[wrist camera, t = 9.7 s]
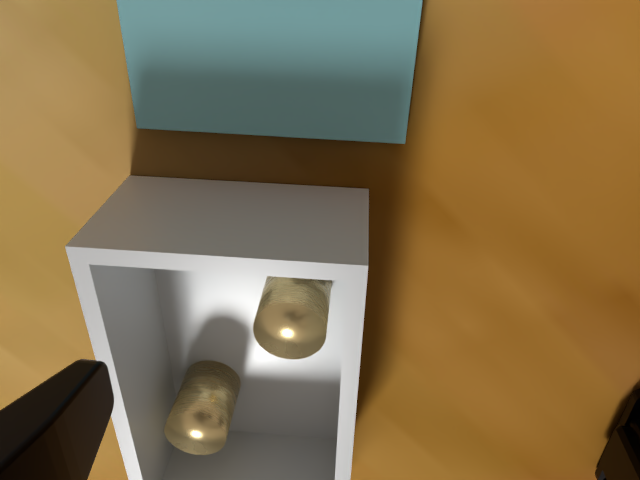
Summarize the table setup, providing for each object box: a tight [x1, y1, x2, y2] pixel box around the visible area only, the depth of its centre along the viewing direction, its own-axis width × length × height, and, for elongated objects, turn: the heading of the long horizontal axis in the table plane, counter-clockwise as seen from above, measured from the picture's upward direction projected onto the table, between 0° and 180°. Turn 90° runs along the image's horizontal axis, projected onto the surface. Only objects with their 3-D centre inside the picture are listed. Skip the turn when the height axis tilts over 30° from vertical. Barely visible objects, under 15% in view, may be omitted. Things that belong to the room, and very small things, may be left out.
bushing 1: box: [164, 360, 241, 455], centre depth 23 cm, size 3×3×3 cm
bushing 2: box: [253, 276, 332, 359], centre depth 20 cm, size 3×3×3 cm
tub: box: [65, 175, 369, 480], centre depth 21 cm, size 9×14×5 cm, turn 179°
